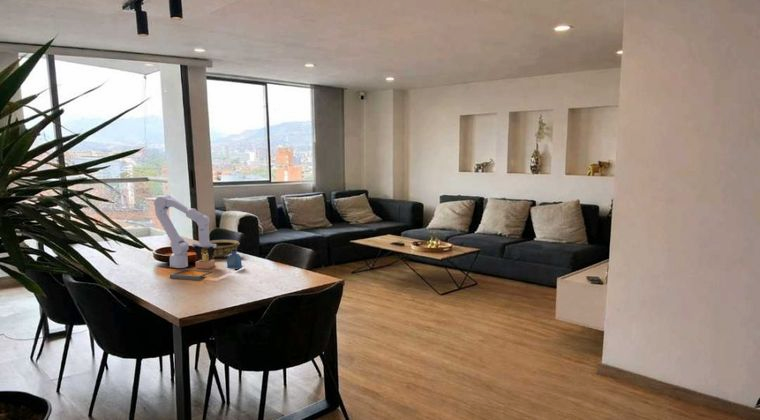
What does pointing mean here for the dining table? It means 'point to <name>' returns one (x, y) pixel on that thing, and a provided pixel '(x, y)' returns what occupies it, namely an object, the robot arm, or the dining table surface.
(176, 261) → the robot arm
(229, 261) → the perfume bottle
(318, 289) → the dining table surface
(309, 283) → the dining table surface
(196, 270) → the tray
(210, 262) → the peach hollow square block
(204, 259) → the dowel
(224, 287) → the dining table surface
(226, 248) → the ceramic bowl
